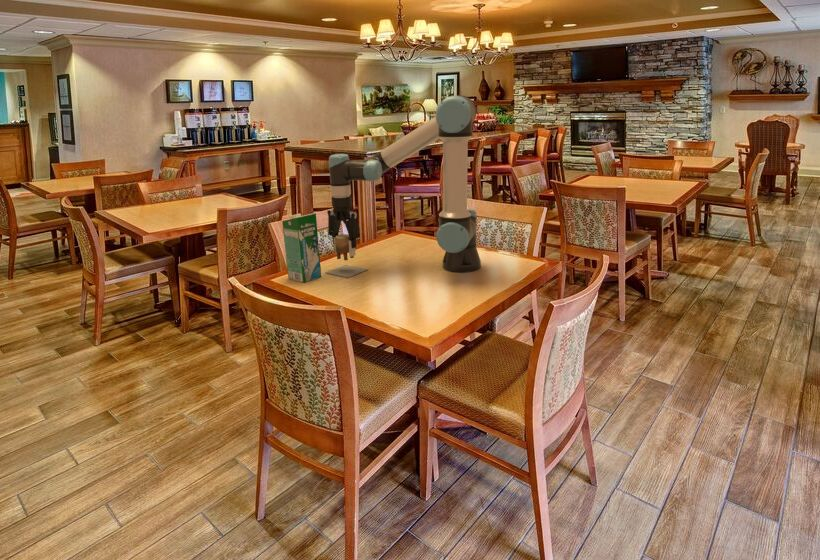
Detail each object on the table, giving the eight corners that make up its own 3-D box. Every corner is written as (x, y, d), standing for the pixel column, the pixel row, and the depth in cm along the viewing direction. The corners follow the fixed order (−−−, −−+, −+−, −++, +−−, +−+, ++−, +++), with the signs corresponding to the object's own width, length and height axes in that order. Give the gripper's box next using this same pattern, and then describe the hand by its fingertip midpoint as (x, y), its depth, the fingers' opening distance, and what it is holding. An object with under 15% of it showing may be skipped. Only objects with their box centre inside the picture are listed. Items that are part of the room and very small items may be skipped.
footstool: (346, 261, 216) (344, 239, 213) (332, 259, 220) (331, 236, 217) (358, 257, 221) (356, 235, 219) (344, 254, 225) (343, 233, 223)
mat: (368, 270, 224) (368, 269, 224) (347, 278, 214) (347, 277, 214) (345, 265, 230) (345, 264, 230) (325, 273, 221) (325, 272, 221)
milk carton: (306, 272, 223) (300, 210, 215) (321, 276, 217) (316, 212, 210) (288, 278, 216) (281, 214, 208) (303, 283, 211) (297, 217, 203)
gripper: (367, 196, 210) (370, 255, 218) (328, 192, 221) (333, 248, 229) (354, 199, 205) (358, 260, 212) (315, 195, 216) (320, 253, 223)
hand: (345, 254), depth 220 cm, fingers closed on footstool, 7 cm apart
